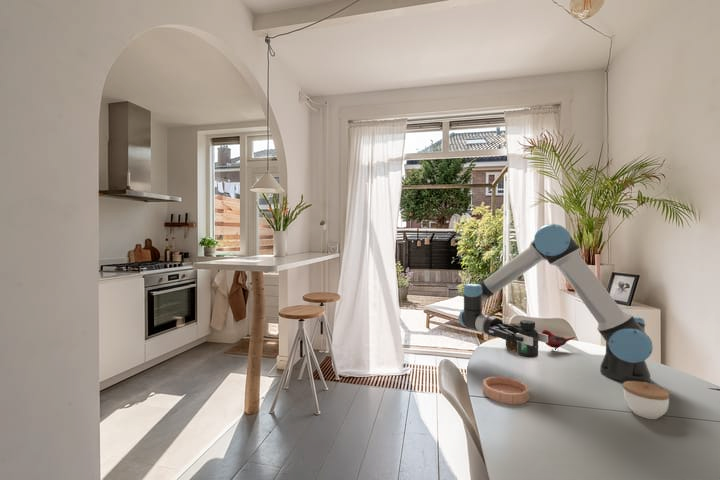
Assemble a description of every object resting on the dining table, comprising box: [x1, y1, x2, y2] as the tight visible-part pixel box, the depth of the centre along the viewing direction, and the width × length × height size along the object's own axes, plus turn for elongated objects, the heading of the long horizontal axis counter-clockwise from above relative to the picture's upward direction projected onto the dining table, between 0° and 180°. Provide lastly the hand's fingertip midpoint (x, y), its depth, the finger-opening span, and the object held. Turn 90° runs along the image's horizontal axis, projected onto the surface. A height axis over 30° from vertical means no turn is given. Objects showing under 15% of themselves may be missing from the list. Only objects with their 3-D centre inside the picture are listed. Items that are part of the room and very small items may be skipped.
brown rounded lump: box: [505, 322, 520, 352], centre depth 163 cm, size 11×11×12 cm
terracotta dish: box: [482, 376, 530, 405], centre depth 115 cm, size 14×14×3 cm
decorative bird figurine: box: [541, 329, 576, 350], centre depth 160 cm, size 3×18×10 cm, turn 96°
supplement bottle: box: [516, 319, 539, 359], centre depth 123 cm, size 7×7×12 cm
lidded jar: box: [622, 381, 671, 420], centre depth 102 cm, size 11×11×9 cm
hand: (539, 340), depth 119 cm, fingers closed on supplement bottle, 7 cm apart
